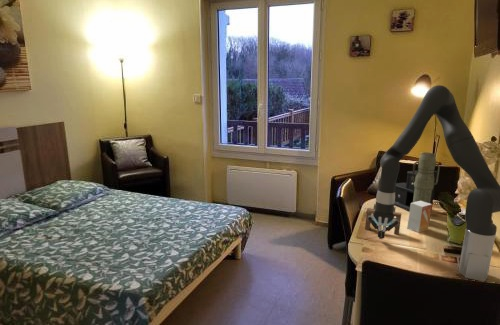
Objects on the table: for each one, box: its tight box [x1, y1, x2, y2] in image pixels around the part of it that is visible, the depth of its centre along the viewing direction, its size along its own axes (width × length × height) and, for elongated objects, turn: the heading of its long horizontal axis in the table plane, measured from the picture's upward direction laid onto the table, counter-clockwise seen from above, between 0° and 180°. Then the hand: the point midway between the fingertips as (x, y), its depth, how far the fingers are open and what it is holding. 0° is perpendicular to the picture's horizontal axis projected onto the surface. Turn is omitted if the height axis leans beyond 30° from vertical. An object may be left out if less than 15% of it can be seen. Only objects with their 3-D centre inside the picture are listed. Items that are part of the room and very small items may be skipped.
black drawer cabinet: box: [394, 170, 437, 213], centre depth 203 cm, size 23×11×24 cm, turn 23°
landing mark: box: [370, 213, 396, 227], centre depth 184 cm, size 13×13×1 cm
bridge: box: [364, 207, 402, 236], centre depth 171 cm, size 3×15×10 cm, turn 68°
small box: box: [406, 201, 433, 234], centre depth 174 cm, size 8×6×13 cm
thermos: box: [412, 152, 441, 203], centre depth 183 cm, size 9×12×35 cm
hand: (380, 238), depth 160 cm, fingers closed
